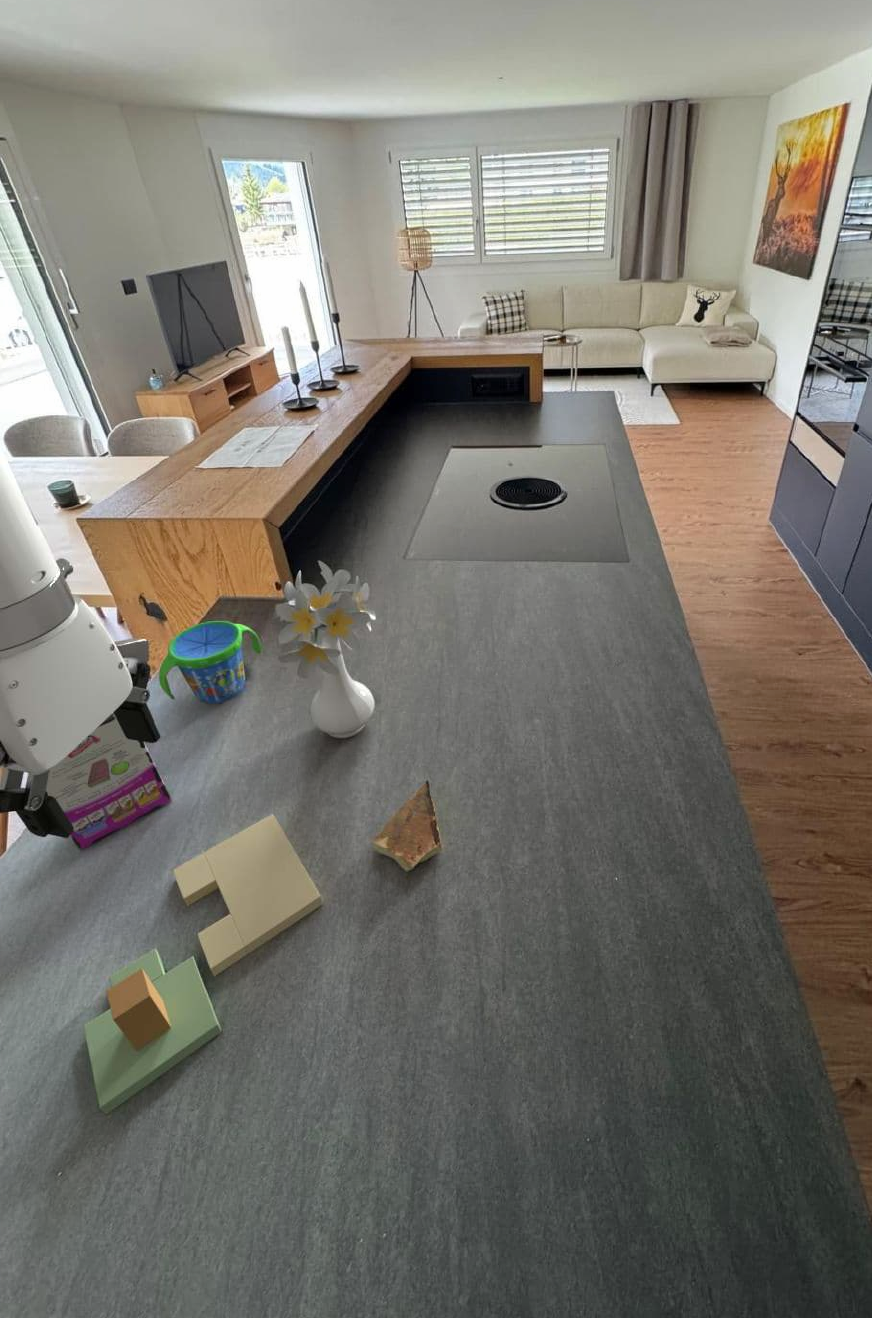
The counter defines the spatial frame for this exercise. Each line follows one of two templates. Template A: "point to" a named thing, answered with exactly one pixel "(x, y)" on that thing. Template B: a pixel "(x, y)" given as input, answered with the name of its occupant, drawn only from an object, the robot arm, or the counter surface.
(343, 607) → the flower vase
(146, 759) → the candy bar box
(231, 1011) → the counter surface
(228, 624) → the snack cup
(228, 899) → the cream pad
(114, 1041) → the green pad
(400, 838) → the shard
